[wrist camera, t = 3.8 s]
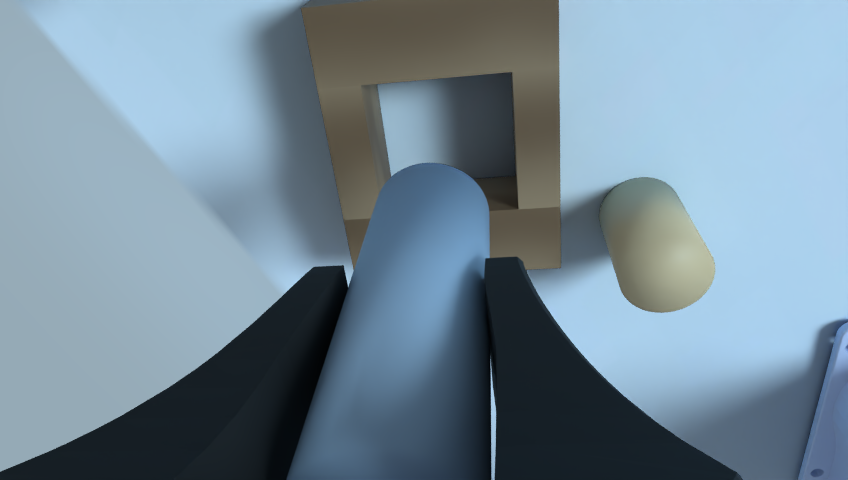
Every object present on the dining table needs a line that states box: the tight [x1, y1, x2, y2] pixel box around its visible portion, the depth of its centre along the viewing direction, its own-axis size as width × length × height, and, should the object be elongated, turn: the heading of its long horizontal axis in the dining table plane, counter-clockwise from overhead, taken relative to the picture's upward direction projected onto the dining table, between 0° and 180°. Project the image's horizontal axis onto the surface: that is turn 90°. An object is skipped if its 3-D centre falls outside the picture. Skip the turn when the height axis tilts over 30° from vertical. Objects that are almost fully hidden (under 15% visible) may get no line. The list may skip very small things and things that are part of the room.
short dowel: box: [599, 177, 715, 313], centre depth 21 cm, size 3×3×4 cm
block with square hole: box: [301, 0, 561, 270], centre depth 21 cm, size 9×7×2 cm
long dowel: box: [286, 163, 491, 480], centre depth 12 cm, size 3×3×8 cm
